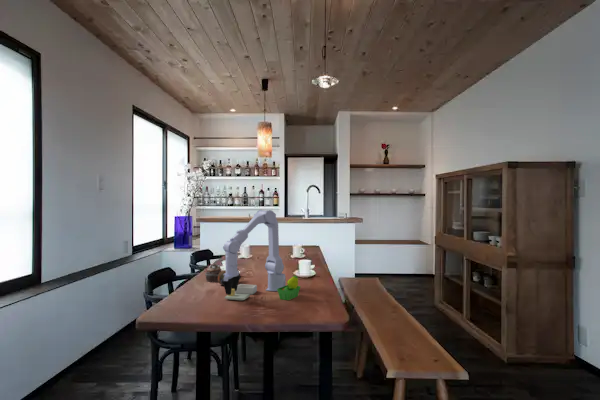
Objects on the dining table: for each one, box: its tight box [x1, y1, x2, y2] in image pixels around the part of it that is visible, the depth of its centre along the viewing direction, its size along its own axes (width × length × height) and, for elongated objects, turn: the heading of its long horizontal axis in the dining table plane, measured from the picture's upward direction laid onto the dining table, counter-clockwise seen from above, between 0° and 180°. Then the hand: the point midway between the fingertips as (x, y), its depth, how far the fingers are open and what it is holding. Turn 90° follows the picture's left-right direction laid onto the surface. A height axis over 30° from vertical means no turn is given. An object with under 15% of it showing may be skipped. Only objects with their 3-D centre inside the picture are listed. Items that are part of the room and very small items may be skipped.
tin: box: [218, 269, 241, 286], centre depth 208 cm, size 15×3×8 cm, turn 143°
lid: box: [224, 289, 251, 301], centre depth 176 cm, size 10×7×5 cm
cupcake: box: [204, 263, 222, 283], centre depth 215 cm, size 10×10×10 cm
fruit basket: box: [276, 275, 301, 301], centre depth 178 cm, size 11×9×11 cm
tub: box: [235, 283, 258, 296], centre depth 188 cm, size 10×7×4 cm
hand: (231, 292), depth 177 cm, fingers open, 7 cm apart
